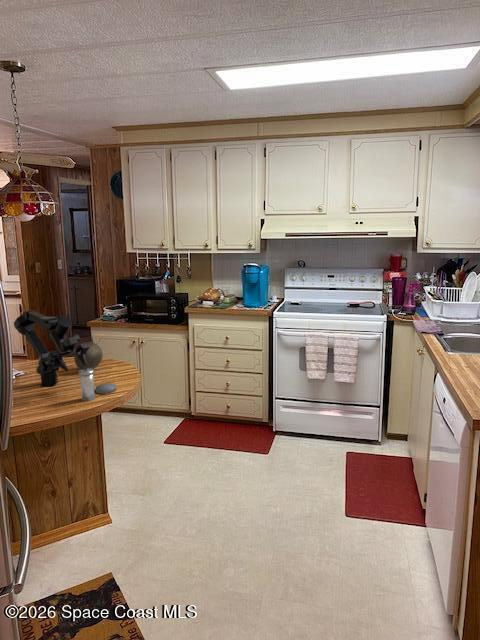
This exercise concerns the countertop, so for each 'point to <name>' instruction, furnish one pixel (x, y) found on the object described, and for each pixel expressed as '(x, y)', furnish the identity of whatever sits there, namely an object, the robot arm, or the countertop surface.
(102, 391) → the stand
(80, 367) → the grey round ball
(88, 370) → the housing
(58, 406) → the countertop surface
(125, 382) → the countertop surface
